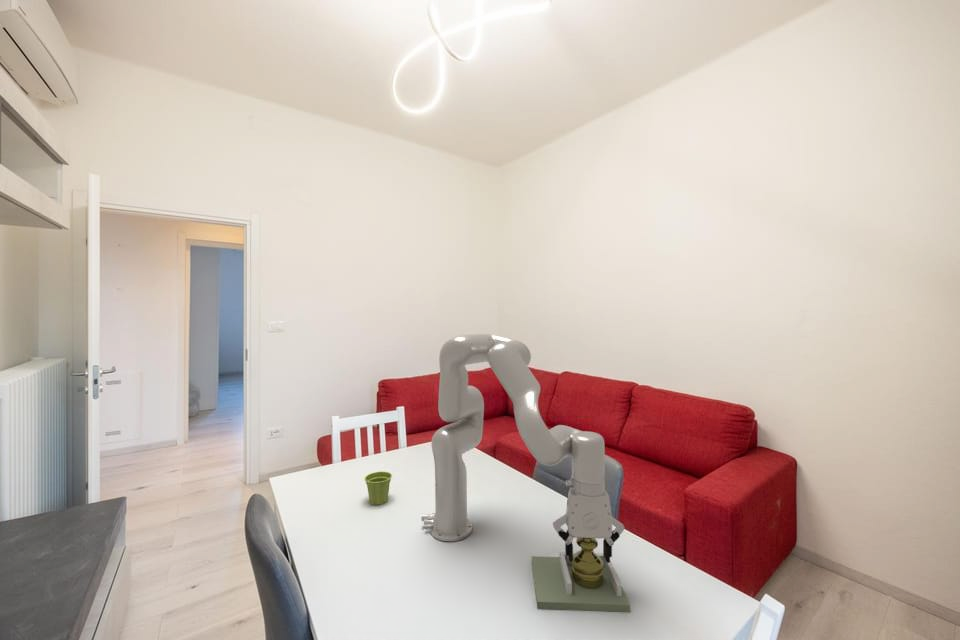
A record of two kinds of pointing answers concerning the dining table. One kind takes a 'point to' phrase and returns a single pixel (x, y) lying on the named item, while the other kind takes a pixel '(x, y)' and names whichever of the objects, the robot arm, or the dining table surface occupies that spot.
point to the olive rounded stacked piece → (587, 564)
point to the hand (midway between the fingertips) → (588, 558)
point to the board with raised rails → (575, 587)
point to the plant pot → (378, 487)
